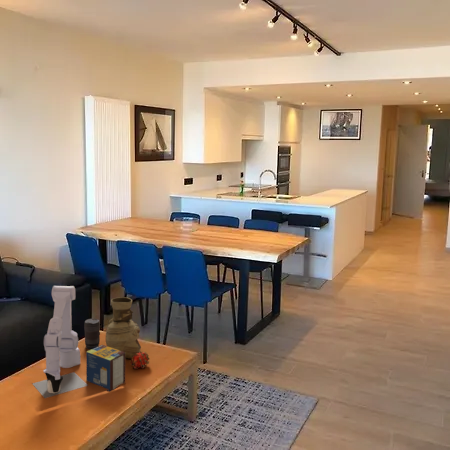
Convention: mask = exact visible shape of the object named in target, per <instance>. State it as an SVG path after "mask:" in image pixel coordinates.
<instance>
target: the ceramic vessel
mask: <svg viewBox="0 0 450 450" xmlns="http://www.w3.org/2000/svg"><path fill="white" fill-rule="evenodd" d="M110 304H111V307H112V318H110V320H109V321H108V322H107V323H108V325H107V328H106V331H105V346H108V347H111V348H114V349H117V350H120V351H123V352H125V360H126V359H128V360H132V357H133V356H134V355H135V353H139V352H140V351H141V348H142V347H141V346H142V345H141V344H140V341H139V340H138V339H139V338H140V332H141V329H140V327H139V325H138V324H137V323H138V322H137V321H133V320H132V319H133V313H134V311H133V310H132V309H131V307H132V304H133V299H131V298H130V297H127V296H126V297H124V296H121V297H120V296H119V297H115V298H111V300H110Z"/></svg>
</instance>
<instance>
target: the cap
mask: <svg viewBox="0 0 450 450" xmlns="http://www.w3.org/2000/svg"><path fill="white" fill-rule="evenodd" d="M47 386H48V392H49V393H56V392H53V389H52V384H51V381H50V380H48V383H47ZM59 391H60V387H59ZM59 391H58V392H59Z"/></svg>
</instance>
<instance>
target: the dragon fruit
mask: <svg viewBox="0 0 450 450" xmlns="http://www.w3.org/2000/svg"><path fill="white" fill-rule="evenodd" d="M130 364H131V366H132V367H133V369H136V370H137V369H139V368H141V369H144V368H146V365H149V364H150V357H149V354H148V353H147V352H146V351H144V352H143V351H141V350H140V352H139V353H135V355H134V356H133V357H132V359H130Z"/></svg>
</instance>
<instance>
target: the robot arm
mask: <svg viewBox="0 0 450 450" xmlns="http://www.w3.org/2000/svg"><path fill="white" fill-rule="evenodd" d="M51 297H52V301H53V302H54V309H53V316H52V318H50V320H49V323H48V328H47V331H46V332H47V333H46V334H45V335H44V337H43V346H44V351H45V366H46V367H45V369H43V373H44V374H45V377H46V380H47V381H48V380H50V381H51V384H52V389H53V392H58V391H59V387H60V383H61V381H62V380H63V376H62V375H61V368H63V369H69V368H72V367H75V366H79V365H81V350H80V348H79V347H78V346H79V337H78V335H79V334H78V333H77V332H76V331H74V330H72V329H73V327H72V326H73V325H72V301H74V300H76V288H75V286H74V285H70V286H67V285H53V286H52V289H51Z"/></svg>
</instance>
